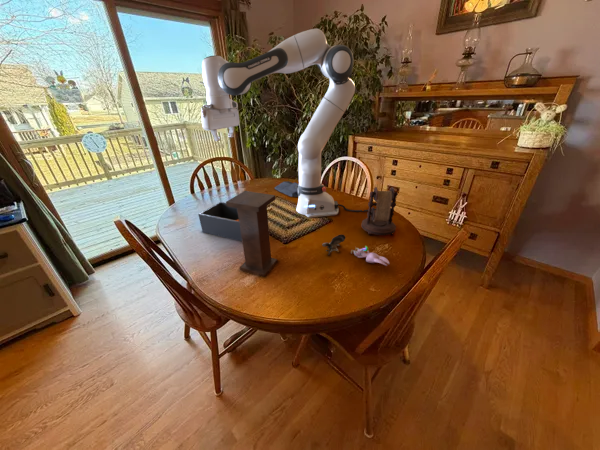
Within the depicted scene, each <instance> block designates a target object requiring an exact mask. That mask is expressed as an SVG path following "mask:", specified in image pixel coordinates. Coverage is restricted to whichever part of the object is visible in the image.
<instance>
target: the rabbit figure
mask: <svg viewBox="0 0 600 450" xmlns="http://www.w3.org/2000/svg"><path fill="white" fill-rule="evenodd" d="M350 254H354V256H355V257H357V258H359V259H360V258H364V259H365V262H366V263H369V264H375V263H377V264H378V263H379V264H381V265H384V266H385V267H388V265H390V261H389V260H388V258H387V257H385V256H381V255H379V254H378V253H376V252H370V248H369V247H368V245H364V247H362V248H359V247H355V248H354V249H350Z"/></svg>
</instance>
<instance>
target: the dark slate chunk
mask: <svg viewBox="0 0 600 450" xmlns="http://www.w3.org/2000/svg"><path fill="white" fill-rule="evenodd" d="M298 184H299V182H298V183H297V182H292V181H289V180H288V181H282V182H280V183H279V184H277V185H276V186H275V187H274V190H276V191H277V192H280V193H281V194H284V195H286V196H287V197H295V198H297V197H299V195H298Z"/></svg>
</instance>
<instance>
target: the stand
mask: <svg viewBox="0 0 600 450" xmlns="http://www.w3.org/2000/svg"><path fill="white" fill-rule="evenodd" d="M274 201H276V195H275V194H271V193H270V194H269V193H264V192H263V193H262V192H256V191H248V190H244V191H242V192H240V193H238V194H237V195H235V196H233V197H231V198H229V199H228V200H226V201H225V203H226V205H227V206H228V207H234V208H237V210H238V217H239V224H240V230H241V237H242V241H241V242H242V249H243V256H244V262H243V263H242V264H241V265H240V266H239V271H243V272H247V273H250V274H254V275H256V276H260V277H263V278H264V277H265V278H266V276H268V274H269V273H270V271H271V270H272V269H273V268H274V266H275V265H276V264H277V263H278V258H274V257H272V251H271V239H270V226H269V217H268V206H270V205H271V204H272V203H273V202H274Z"/></svg>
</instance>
